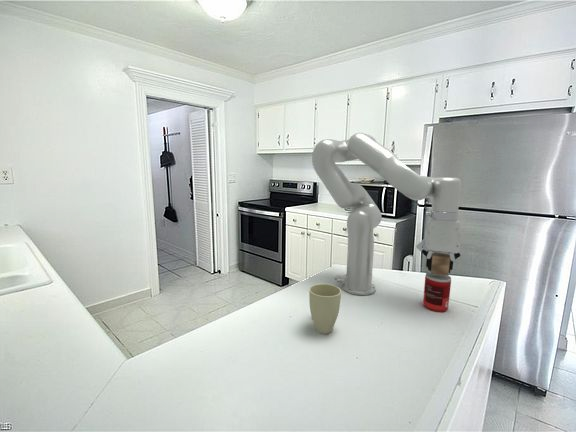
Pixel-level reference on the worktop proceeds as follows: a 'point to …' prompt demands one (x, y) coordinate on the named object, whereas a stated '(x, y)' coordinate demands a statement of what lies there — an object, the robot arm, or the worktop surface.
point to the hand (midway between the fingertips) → (438, 270)
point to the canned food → (436, 292)
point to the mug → (324, 306)
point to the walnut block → (440, 263)
